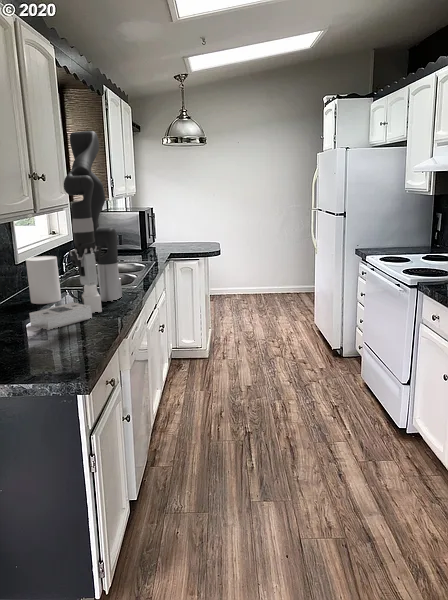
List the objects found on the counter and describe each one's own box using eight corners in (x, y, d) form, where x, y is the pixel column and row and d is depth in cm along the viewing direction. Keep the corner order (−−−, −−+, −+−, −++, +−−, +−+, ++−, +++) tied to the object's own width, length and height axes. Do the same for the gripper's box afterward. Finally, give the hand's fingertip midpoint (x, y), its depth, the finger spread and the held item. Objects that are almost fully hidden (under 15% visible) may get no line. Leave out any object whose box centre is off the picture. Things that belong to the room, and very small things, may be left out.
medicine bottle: (82, 310, 219) (80, 283, 216) (99, 308, 221) (97, 281, 219) (84, 314, 212) (81, 286, 210) (102, 312, 215) (99, 284, 212)
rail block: (74, 313, 213) (73, 302, 212) (92, 318, 206) (90, 305, 205) (30, 325, 198) (29, 312, 197) (48, 330, 191) (46, 317, 190)
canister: (24, 303, 235) (19, 260, 230) (41, 296, 248) (36, 255, 243) (51, 304, 232) (46, 260, 227) (66, 297, 244) (62, 256, 240)
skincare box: (98, 284, 196) (95, 253, 193) (88, 286, 193) (85, 254, 190) (89, 282, 200) (86, 252, 197) (79, 284, 197) (76, 253, 194)
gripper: (92, 227, 199) (96, 271, 203) (61, 232, 188) (66, 277, 192) (104, 228, 194) (108, 272, 199) (73, 232, 184) (78, 279, 188)
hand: (87, 274), depth 195 cm, fingers closed on skincare box, 4 cm apart
